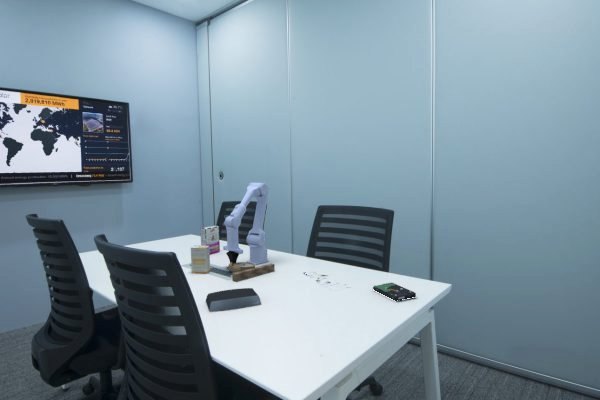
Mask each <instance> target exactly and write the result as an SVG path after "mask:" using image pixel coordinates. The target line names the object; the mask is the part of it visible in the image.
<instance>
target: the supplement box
mask: <svg viewBox="0 0 600 400" xmlns="http://www.w3.org/2000/svg"><path fill="white" fill-rule="evenodd" d="M210 255H211V254H210V251H209V246H201V245H193V246H191V247H190V265H191V266H190V267H191V273H192V274H208V273H210V272H211V257H210Z"/></svg>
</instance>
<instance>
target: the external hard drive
mask: <svg viewBox="0 0 600 400" xmlns="http://www.w3.org/2000/svg"><path fill="white" fill-rule="evenodd" d="M205 303H206V306H207V309H208V311H209V313H216V312H224V311H232V310H239V309H245V308H251V307H255V306H256V307H257V306H261V305H262V302H261V298H260V296H259V294H258V293H257V292H256V290H254V288H252V287H247V288H246V287H244V288H233V289H225V290H219V291H214V292H209V293H208V294H207V295H206V298H205Z"/></svg>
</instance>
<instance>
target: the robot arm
mask: <svg viewBox="0 0 600 400" xmlns="http://www.w3.org/2000/svg"><path fill="white" fill-rule="evenodd" d="M269 190H270V189H269V185H267V183H266V182H253V181H252V182H249V184H248V186H247V187H246V193H245V194H244V196H243V197H242V200H241V202H240V203H238V204H236V205H235V206H234V208H233V209H232V211H231V212H230V215H228V216H226V217H225V220H224V222H223V225H224V226H225V230H226V245H224V246H223V247H222V250H223V251H227V252H226V255H227V258H228V260H229V264H230V263H232V262H233V264H234V263H237V262H238V259H239V255H242V254H244V250H243V249H242V248H240V246H239V244H240V243H239V227H240V226H241V224H242V218H243V216H244V214H245V213H246V212H247V206H248V205H249V204H250V202H251V201H252V200H253V199H254V198H255V199H256V208H255V213H254V219H253V223H252V228H251V229H250V230H249V231H248V235H247V237H246V239H245V240H246V244H247V245H248V247H249V260H247V261H246V262H249V263H253V264H255V266H256V265H259V264H263V263H264V264H265V263H267V262H268V263H269V260H268V249H267V246H266V242H267V240H266V239H267V238H266V234H267V233H266V232H265V231H264V230H263V229H264V222H265V215H266V210H267V205H268V197H269V196H268V194H269ZM233 264H232V267H233Z"/></svg>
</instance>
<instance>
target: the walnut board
mask: <svg viewBox="0 0 600 400" xmlns="http://www.w3.org/2000/svg"><path fill="white" fill-rule="evenodd" d="M275 268H276V267H275V264H274V263H268V264H264V265H259V266H255V268H251V269H248V270H244V271H240V272H236V273H233V272H232V273H231V274H232V275H231V277H232V282H234V283H235V282H236V283H237V282H241V281H244V280H248V279H251V278H255V277H258V276H262V275H266V274H270V273H272V272H276V271H275Z"/></svg>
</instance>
